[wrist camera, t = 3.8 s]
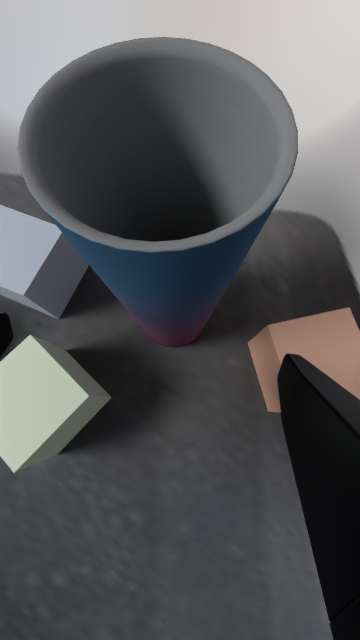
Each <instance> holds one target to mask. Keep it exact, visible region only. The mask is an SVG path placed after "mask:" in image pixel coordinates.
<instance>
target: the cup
mask: <svg viewBox="0 0 360 640" xmlns="http://www.w3.org/2000/svg"><path fill="white" fill-rule="evenodd" d="M297 133H298V131H297V127H296V123H295V119H294V116H293V112H292V109H291V108H290V106H289V104H288V102H287V100H286V98H285V96H284V95H283V93H282V91H281V90H280V89H279V88H278V87H277V85H276V84H275V83H274V82H273V81H272V80H271V79H270V77H269V76H268V75H267V74H265V73H264V72H263V71H261V70H260V69H259V68H258V67H256V66H255V65H254V64H253V63H251V62H250V61H248V60H246V59H244V58H242V57H240V56H239V55H237V54H235V53H233V52H231V51H229V50H226V49H223V48H220V47H218V46H215V45H212V44H209V43H204V42H199V41H195V40H190V39H182V38H168V37H156V38H140V39H134V40H129V41H123V42H118V43H114V44H111V45H108V46H105V47H102V48H99V49H97V50H93V51H91V52H89V53H88V54H85V55H83V56H82V57H79V58H78V59H76V60H74V61H72V62H71V63H69V64H68V65H66V66H65V67H64V68H62V69H61V70H60V71H58V72H57V73H55V74H54V75H53V76H52V77H51V78H50V79H49V80H48V81H47V82H46V83H45V84H44V85H43V86H42V87H41V88H40V89H39V91H38V92H37V94H36V95H35V97H34V98H33V100H32V102H31V103H30V105H29V106H28V108H27V110H26V113H25V116H24V118H23V121H22V124H21V126H20V132H19V141H18V155H19V162H20V169H21V173H22V175H23V177H24V180H25V182H26V184H27V187H28V189H29V191H30V193H31V194H32V196H33V197H34V198H35V200H36V201H37V202H38V204H39V205H40V206H41V207H42V209H43V210H44V211H45V213H46V214H47V215H48V216H49V217H50V219H51V220H52V221H53V222H54V223H55V225H56V226H57V227H58V228H59V229H60V231H61V232H62V233H63V234H64V235H65V237H66V238H67V239H68V240H69V241H70V243H71V244H72V245H73V246H74V247H75V249H76V250H77V251H78V252H79V253H80V255H81V256H82V257H83V258H84V259H85V261H86V262H87V263H88V264H89V265H90V267H91V268H92V269H93V270H94V271H95V273H96V274H97V275H98V276H99V277H100V279H101V280H102V281H103V282H104V283H105V284H106V286H107V287H108V288H109V289H110V290H111V292H112V293H113V294H114V295H115V296H116V298H117V299H118V300H119V301H120V302H121V304H122V305H123V306H124V307H125V308H126V310H127V311H128V312H129V313H130V314H131V316H132V317H133V318H134V319H135V320H136V322H137V323H138V324H139V325H140V326H141V328H142V329H143V330H144V331H145V332H146V334H147V335H148V336H149V337H150V338H151V339H152V340H153V341H155V342H156V343H158V344H160V345H163V346H166V347H180V346H184V345H187V344H189V343H191V342H192V341H194V340H195V339H196V338H197V337H198V336H199V335H200V334H201V332H202V330H203V329H204V327H205V325H206V324H207V322H208V320H209V318H210V317H211V315H212V313H213V311H214V310H215V308H216V306H217V305H218V303H219V301H220V299H221V298H222V296H223V294H224V293H225V291H226V289H227V287H228V286H229V284H230V282H231V280H232V279H233V277H234V275H235V274H236V272H237V270H238V268H239V267H240V265H241V263H242V261H243V260H244V258H245V256H246V255H247V253H248V251H249V249H250V248H251V246H252V244H253V243H254V241H255V239H256V237H257V236H258V234H259V232H260V230H261V229H262V227H263V225H264V224H265V222H266V220H267V218H268V217H269V215H270V213H271V211H272V210H273V208H274V206H275V204H276V203H277V201H278V199H279V198H280V196H281V194H282V192H283V190H284V188H285V187H286V185H287V183H288V181H289V179H290V178H291V176H292V173H293V169H294V166H295V161H296V158H297V154H298V136H297V135H298V134H297Z"/></svg>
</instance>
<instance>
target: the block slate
mask: <svg viewBox="0 0 360 640" xmlns="http://www.w3.org/2000/svg"><path fill="white" fill-rule="evenodd" d="M88 266H89V264H88V263H87V262H86V261H85V259H84V258H83V257H82V256H81V255H80V253H79V252H78V251H77V250H76V249H75V247H74V246H73V245H72V244H71V243H70V241H69V240H68V239H67V238H66V237H65V235H64V234H63V233H62V232H61V231H60V229H59V228H58V227H57V226H56V225H54V224H51V223H48V222H45V221H43V220H40V219H37V218H35V217H32V216H29V215H26V214H24V213H21V212H18V211H16V210H13V209H10V208H7V207H5V206H2V205H0V295H2V296H4V297H6V298H8V299H11V300H13V301H16V302H18V303H21V304H23V305H25V306H28V307H30V308H33V309H35V310H38V311H40V312H42V313H45V314H47V315H50V316H52V317H55V318H57V319H59V318H60V316H61V315H62V313H63V311H64V309H65V307H66V306H67V304H68V302H69V300H70V298H71V297H72V295H73V293H74V291H75V289H76V288H77V286H78V284H79V282H80V281H81V279H82V277H83V275H84V273H85V272H86V270H87V268H88Z"/></svg>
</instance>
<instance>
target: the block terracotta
mask: <svg viewBox="0 0 360 640" xmlns="http://www.w3.org/2000/svg"><path fill="white" fill-rule="evenodd" d="M248 346H249V349H250V352H251V356H252V359H253V362H254V366H255V369H256V373H257V376H258V379H259V383H260V386H261V389H262V393H263V396H264V399H265V403H266V406H267V410H268V411H269V412H277V413H281V409H280V401H279V392H278V383H277V376H278V372H279V369H280V367H281V364H282V361H283V358H284V356H285V355H286V354H287V353H290V354H297V355H301V356H302V357H303V358H305V359H306V360H307V361H309V362H310V363H311V364H313V365H314V366H315V367H317V368H318V369H319V370H321V371H322V372H323V373H325V374H326V375H327V376H329V377H330V378H331V379H333V380H334V381H335V382H337V383H338V384H339V385H341V386H342V387H343V388H345V389H346V390H347V391H349V392H350V393H351V394H353V395H354V396H355V397H357V398H358V399H359V400H360V331H359V329H358V326H357V324H356V322H355V319H354V317H353V314H352V312H351V310H350V307H348V308H344V309H339V310H335V311H330V312H325V313H321V314H316V315H312V316H307V317H302V318H298V319H293V320H288V321H284V322H279V323H275V324H270V325H267V326H266V327H265V328H264V329H263V330H262V331H260V332H259V333H258V334H257V335H256V336H255V337H254V338H252V339H251V340H250V341H249V342H248Z"/></svg>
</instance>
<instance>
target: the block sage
mask: <svg viewBox="0 0 360 640" xmlns="http://www.w3.org/2000/svg"><path fill="white" fill-rule="evenodd" d="M111 398H112V397H111V396H110V395H109V394H108V393H107V392H106V391H105V390H104V389H103V388H102V387H101V386H100V385H99V384H98V383H97V382H96V381H95V380H94V379H93V378H92V377H91V376H90V375H89V374H88V373H87V372H86V371H85V370H84V369H83V368H82V367H81V366H80V364H79V363H78V362H77V361H76V360H75V359H74V358H73V357H72V356H71V355H70V354H69V353H68V352H67V351H66V350H64V349H62V348H59V347H57V346H55V345H53V344H51V343H48V342H46V341H44V340H42V339H39V338H37V337H35V336H33V335H29V336H28V337H27V338H26V339H25V340H24V341H23V342H22V343H21V344H19V345H18V346H17V347H16V348H15V349H14V350H13V351H12V352H11V353H10V354H8V355H7V356H6V357H5V358H4V359H3V360H2V361H1V362H0V456H1V457H2V459H3V460H4V461H5V462H6V464H7V465H8V466H9V467H10V469H11V470H12V471H13V472H14V473H15V472H17V471H20V470H22V469H24V468H27V467H29V466H32V465H34V464H36V463H39V462H41V461H43V460H46V459H48V458H50V457H53V456H55V455H57V454H58V453H59V452H60V451H61V450H62V449H63V448H64V447H65V446H66V445H67V444H68V443H69V442H70V441H71V440H72V439H73V438H74V437H75V435H76V434H77V433H78V432H79V431H80V430H81V429H82V428H83V427H84V426H85V425H86V424H87V423H88V422H89V421H90V420H91V419H92V418H93V417H94V415H95V414H96V413H97V412H98V411H99V410H100V409H101V408H102V407H103V406H104V405H105V404H106V403H107V402H108V401H109V400H110V399H111Z"/></svg>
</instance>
